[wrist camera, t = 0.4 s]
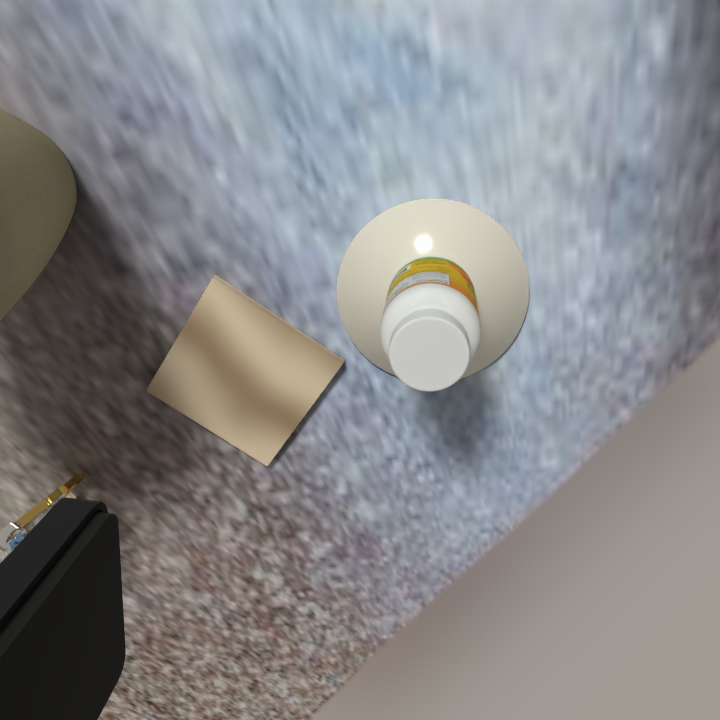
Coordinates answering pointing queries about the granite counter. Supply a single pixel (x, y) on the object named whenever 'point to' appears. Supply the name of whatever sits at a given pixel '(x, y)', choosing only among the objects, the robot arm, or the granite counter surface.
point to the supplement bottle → (430, 323)
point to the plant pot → (30, 205)
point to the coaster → (444, 239)
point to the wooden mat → (243, 372)
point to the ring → (40, 512)
